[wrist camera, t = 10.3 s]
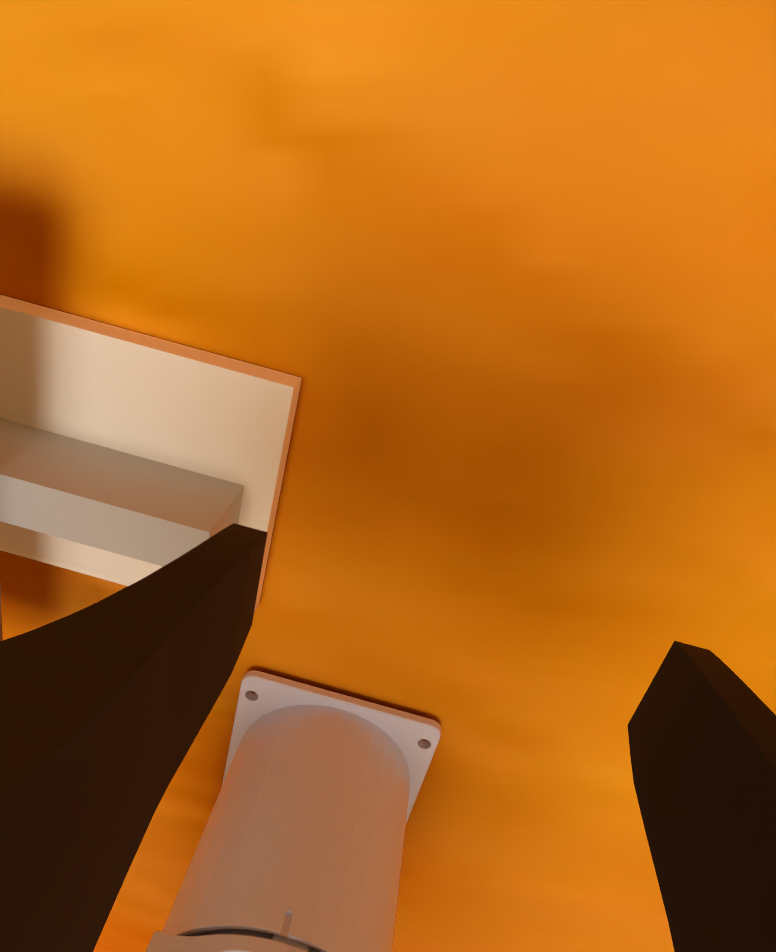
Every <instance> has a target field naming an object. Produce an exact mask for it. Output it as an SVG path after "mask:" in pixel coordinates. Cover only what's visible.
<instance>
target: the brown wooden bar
mask: <svg viewBox="0 0 776 952" xmlns="http://www.w3.org/2000/svg"><path fill="white" fill-rule="evenodd" d="M1 641H2V613H1V584H0V642H1Z"/></svg>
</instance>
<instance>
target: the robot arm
mask: <svg viewBox="0 0 776 952" xmlns="http://www.w3.org/2000/svg"><path fill="white" fill-rule="evenodd" d="M267 533H268V532H265V531H261V530H257V529H254V528H250V527H246V526H243V525H239V524H235V523H233V524H231V525H229V526H228V527H226V528H224V529H223V530H221V531H219V532H218V533H216V534H215V535H213V536H212V537H210V538H209V539H207V540H205V541H204V542H202V543H201V544H199V545H198V546H196V547H194V548H193V549H191V550H190V551H188V552H186V553H185V554H183V555H182V556H180V557H178V558H177V559H175V560H173V561H172V562H170V563H168V564H167V565H165V566H163V567H162V568H160V569H158V570H156V571H155V572H153V573H151V574H150V575H148V576H146V577H144V578H143V579H141V580H139V581H137V582H135V583H134V584H132V585H130V586H128V587H126V588H124V589H122V590H120V591H118V592H116V593H114V594H112V595H111V596H109V597H107V598H105V599H103V600H101V601H99V602H97V603H95V604H93V605H91V606H89V607H87V608H84V609H82V610H80V611H78V612H76V613H73V614H71V615H69V616H66V617H64V618H61V619H59V620H57V621H54V622H52V623H49V624H47V625H45V626H42V627H40V628H37V629H35V630H32V631H29V632H27V633H24V634H21V635H18V636H15V637H12V638H9V639H6V640H3V641H1V642H0V952H93V950H94V948H95V946H96V943H97V941H98V939H99V936H100V934H101V932H102V929H103V927H104V925H105V923H106V920H107V918H108V916H109V913H110V911H111V909H112V906H113V904H114V902H115V900H116V897H117V895H118V893H119V890H120V888H121V886H122V884H123V881H124V879H125V877H126V874H127V872H128V870H129V868H130V865H131V863H132V861H133V859H134V857H135V854H136V852H137V850H138V848H139V845H140V843H141V841H142V839H143V837H144V834H145V832H146V830H147V828H148V825H149V823H150V821H151V819H152V816H153V814H154V812H155V810H156V808H157V806H158V804H159V802H160V800H161V799H162V797H163V795H164V793H165V791H166V789H167V787H168V785H169V783H170V781H171V780H172V778H173V776H174V774H175V773H176V771H177V769H178V767H179V766H180V764H181V762H182V760H183V759H184V757H185V755H186V753H187V752H188V750H189V748H190V746H191V744H192V743H193V741H194V739H195V737H196V736H197V734H198V732H199V730H200V729H201V727H202V725H203V723H204V722H205V720H206V718H207V716H208V715H209V713H210V711H211V709H212V707H213V706H214V704H215V702H216V700H217V699H218V697H219V695H220V693H221V691H222V690H223V688H224V686H225V684H226V682H227V681H228V679H229V677H230V675H231V673H232V671H233V669H234V666H235V664H236V661H237V659H238V657H239V654H240V652H241V650H242V647H243V645H244V642H245V640H246V637H247V635H248V632H249V630H250V628H251V625H252V621H253V615H254V609H255V603H256V598H257V592H258V586H259V580H260V574H261V568H262V563H263V557H264V551H265V545H266V539H267ZM250 691H254V692H256V693H257V694H255V693H252V692H250ZM628 733H629V744H630V756H631V764H632V772H633V780H634V785H635V790H636V794H637V798H638V803H639V807H640V811H641V815H642V819H643V823H644V827H645V831H646V835H647V839H648V843H649V847H650V851H651V855H652V859H653V863H654V867H655V871H656V875H657V879H658V883H659V887H660V891H661V895H662V899H663V903H664V906H665V910H666V914H667V918H668V922H669V927H670V932H671V937H672V941H673V946H674V951H675V952H776V715H775V714H774V713H773V712H772V711H771V710H770V709H769V708H768V707H767V706H766V705H765V704H764V703H763V702H762V701H761V700H760V699H759V698H758V697H757V696H756V695H755V693H754V692H753V691H752V690H751V689H750V688H749V687H748V686H747V685H746V684H745V683H744V682H743V681H742V680H741V679H740V678H739V677H738V676H737V675H736V674H735V673H734V672H733V671H732V670H731V669H730V668H729V667H728V666H727V665H725V664H724V663H723V662H722V661H721V660H720V659H719V658H718V657H717V656H716V655H714V654H713V653H712V652H711V651H710V650H707V649H703V648H699V647H696V646H692V645H688V644H684V643H681V642H677V641H674V643H673V645H672V646H671V648H670V650H669V652H668V654H667V655H666V657H665V659H664V661H663V663H662V664H661V666H660V668H659V670H658V672H657V673H656V675H655V677H654V679H653V681H652V682H651V684H650V686H649V688H648V690H647V691H646V693H645V695H644V697H643V699H642V700H641V702H640V704H639V706H638V707H637V709H636V711H635V713H634V715H633V716H632V718H631V720H630V722H629V724H628ZM440 735H441V727H440V724H439V723H437V722H436V721H434V720H432V719H429V718H425V717H422V716H418V715H414V714H411V713H407V712H404V711H400V710H397V709H393V708H389V707H386V706H382V705H379V704H375V703H371V702H368V701H364V700H361V699H357V698H354V697H350V696H346V695H343V694H339V693H336V692H332V691H328V690H325V689H321V688H318V687H314V686H311V685H307V684H303V683H300V682H296V681H293V680H289V679H285V678H282V677H278V676H275V675H271V674H268V673H264V672H260V671H255V670H252V671H248V672H247V673H246V674H245V676H244V678H243V680H242V682H241V687H240V692H239V698H238V703H237V708H236V714H235V719H234V724H233V730H232V735H231V740H230V746H229V751H228V756H227V762H226V767H225V772H224V778H223V783H222V788H221V790H220V793H219V795H218V797H217V800H216V802H215V805H214V807H213V810H212V812H211V814H210V817H209V819H208V822H207V824H206V826H205V829H204V831H203V834H202V836H201V838H200V841H199V843H198V846H197V848H196V851H195V853H194V855H193V858H192V860H191V863H190V865H189V867H188V870H187V872H186V875H185V877H184V880H183V882H182V884H181V887H180V889H179V892H178V894H177V896H176V899H175V901H174V904H173V906H172V909H171V911H170V913H169V916H168V918H167V921H166V923H165V925H164V928H163V930H162V932H161V931H156V932H154V933H153V936H152V938H151V940H150V943H149V945H148V947H147V950H146V952H392V945H393V936H394V927H395V917H396V908H397V899H398V890H399V881H400V872H401V863H402V854H403V844H404V835H405V826H406V823H407V821H408V818H409V816H410V813H411V810H412V808H413V805H414V803H415V800H416V798H417V795H418V793H419V790H420V788H421V785H422V783H423V780H424V778H425V775H426V773H427V770H428V767H429V765H430V762H431V760H432V757H433V755H434V752H435V750H436V747H437V745H438V742H439V740H440ZM421 739H426V740H428V741H423V740H421Z"/></svg>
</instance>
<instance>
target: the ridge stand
mask: <svg viewBox="0 0 776 952" xmlns="http://www.w3.org/2000/svg"><path fill="white" fill-rule="evenodd" d="M301 381H302V378H301V377H298V376H294V375H290V374H287V373H283V372H279V371H276V370H272V369H269V368H265V367H261V366H258V365H254V364H250V363H247V362H243V361H239V360H236V359H232V358H229V357H225V356H221V355H218V354H214V353H210V352H207V351H203V350H200V349H196V348H192V347H189V346H185V345H181V344H178V343H174V342H171V341H167V340H163V339H160V338H156V337H152V336H149V335H145V334H142V333H138V332H134V331H131V330H127V329H123V328H120V327H116V326H112V325H109V324H105V323H102V322H98V321H94V320H91V319H87V318H83V317H80V316H76V315H73V314H69V313H65V312H62V311H58V310H54V309H51V308H47V307H44V306H40V305H36V304H33V303H29V302H25V301H22V300H18V299H15V298H11V297H7V296H4V295H0V551H4V552H7V553H11V554H15V555H18V556H22V557H25V558H29V559H33V560H36V561H40V562H43V563H47V564H51V565H54V566H58V567H61V568H65V569H69V570H72V571H76V572H79V573H83V574H86V575H90V576H94V577H97V578H101V579H104V580H108V581H112V582H115V583H119V584H122V585H126V586H130V585H132V584H134V583H135V582H137V581H139V580H141V579H143V578H144V577H146V576H148V575H150V574H151V573H153V572H155V571H156V570H158V569H160V568H162V567H163V566H165V565H167V564H168V563H170V562H172V561H173V560H175V559H177V558H178V557H180V556H182V555H183V554H185V553H186V552H188V551H190V550H191V549H193V548H194V547H196V546H198V545H199V544H201V543H202V542H204V541H205V540H207V539H209V538H210V537H212V536H213V535H215V534H216V533H218V532H219V531H221V530H223V529H224V528H226V527H228V526H229V525H231V524H233V523H235V524H239V525H243V526H246V527H250V528H254V529H257V530H261V531H265V532H268V533H267V539H266V545H265V551H264V557H263V563H262V568H261V574H260V580H259V586H258V592H257V598H256V603H255V609H254V613H255V611H256V609H257V607H258V605H259V601H260V596H261V591H262V585H263V580H264V575H265V570H266V564H267V559H268V554H269V549H270V543H271V538H272V533H273V528H274V522H275V517H276V512H277V507H278V501H279V496H280V491H281V486H282V480H283V475H284V470H285V465H286V459H287V454H288V449H289V444H290V438H291V433H292V428H293V423H294V417H295V412H296V407H297V402H298V396H299V391H300V386H301Z"/></svg>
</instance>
